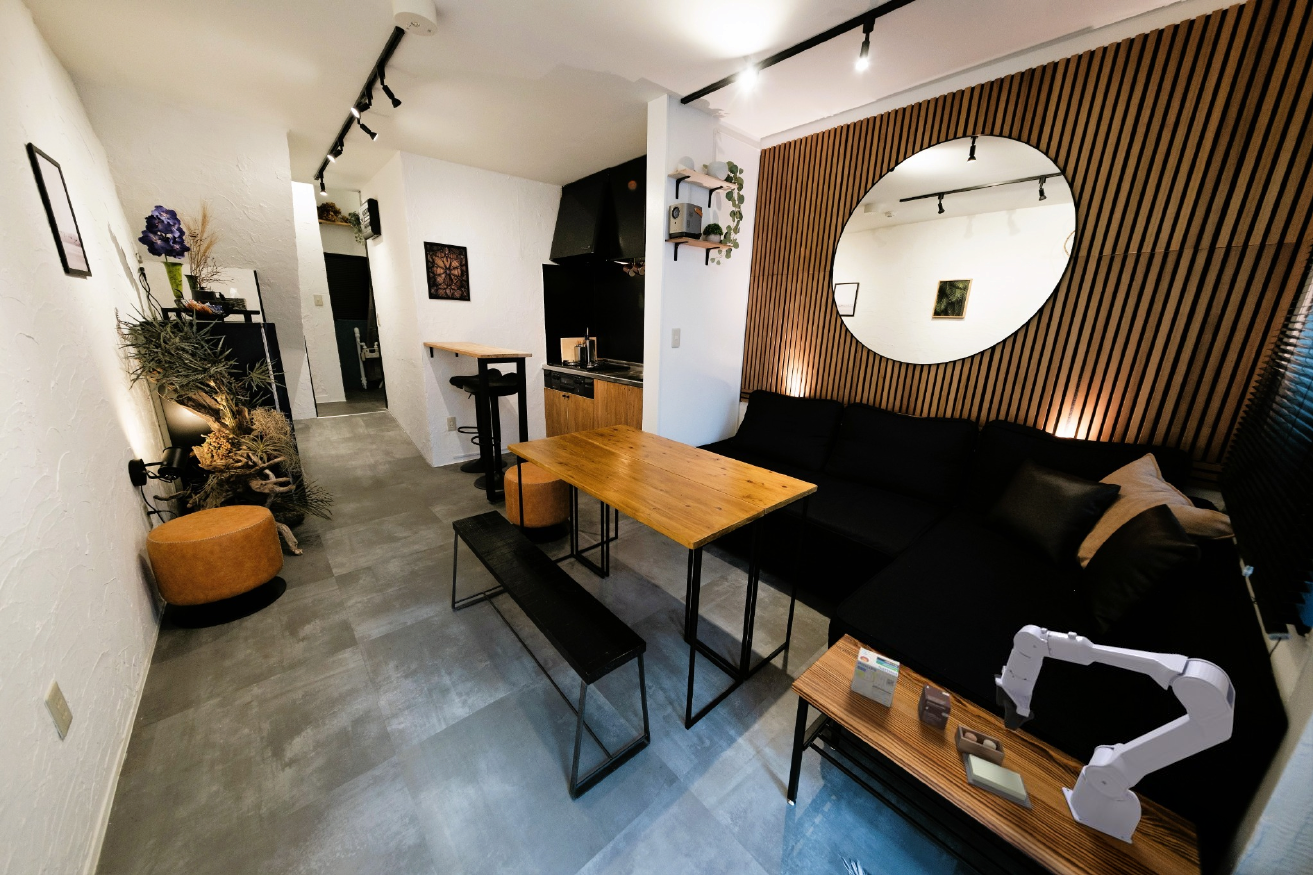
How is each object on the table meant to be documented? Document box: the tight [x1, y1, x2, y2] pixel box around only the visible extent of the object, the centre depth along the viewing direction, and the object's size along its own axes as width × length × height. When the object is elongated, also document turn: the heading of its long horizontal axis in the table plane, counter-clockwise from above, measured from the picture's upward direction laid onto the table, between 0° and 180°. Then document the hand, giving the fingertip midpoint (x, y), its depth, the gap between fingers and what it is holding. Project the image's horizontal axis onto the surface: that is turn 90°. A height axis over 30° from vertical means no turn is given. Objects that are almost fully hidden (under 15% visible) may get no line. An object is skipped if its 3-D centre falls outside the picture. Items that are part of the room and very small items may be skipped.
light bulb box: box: [850, 647, 900, 708], centre depth 125 cm, size 11×7×11 cm, turn 58°
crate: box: [954, 724, 1006, 767], centre depth 110 cm, size 9×4×4 cm, turn 64°
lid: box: [968, 754, 1026, 800], centre depth 103 cm, size 10×6×2 cm, turn 64°
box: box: [917, 683, 952, 731], centre depth 119 cm, size 6×6×7 cm
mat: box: [961, 753, 1033, 811], centre depth 104 cm, size 12×8×1 cm, turn 64°
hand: (1005, 716), depth 110 cm, fingers open, 7 cm apart
